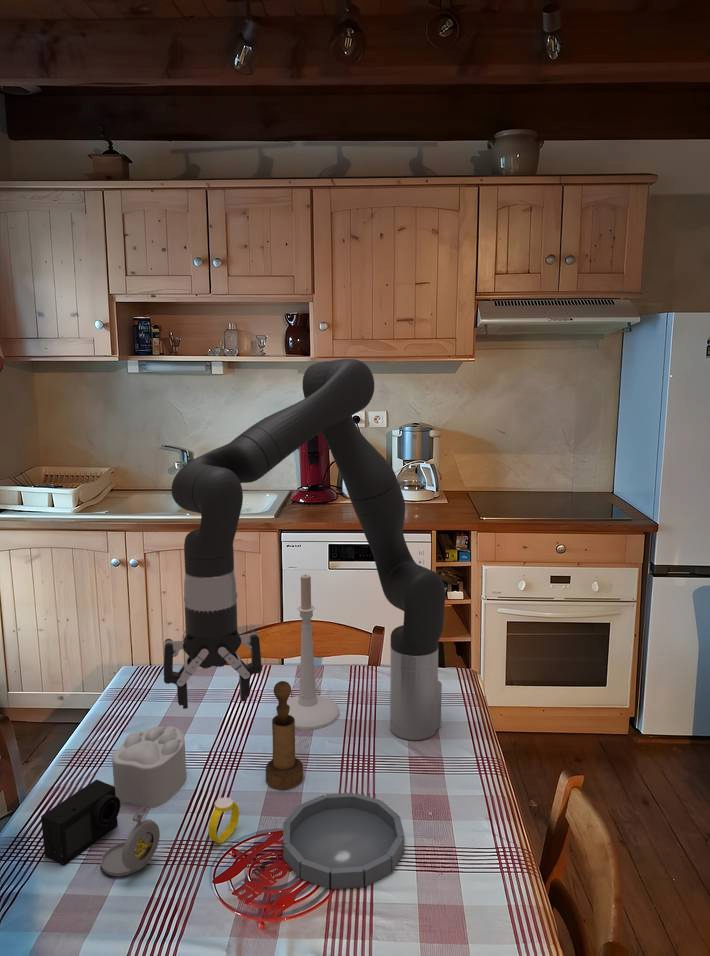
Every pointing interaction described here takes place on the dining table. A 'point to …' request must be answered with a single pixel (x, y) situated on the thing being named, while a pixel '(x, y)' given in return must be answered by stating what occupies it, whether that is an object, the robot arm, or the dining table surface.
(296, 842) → the round dish
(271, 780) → the mortar and pestle
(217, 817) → the watch
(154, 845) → the pocket watch
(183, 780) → the lumpy-topped squat cylinder
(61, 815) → the digital camera
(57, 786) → the dining table surface
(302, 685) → the candlestick
